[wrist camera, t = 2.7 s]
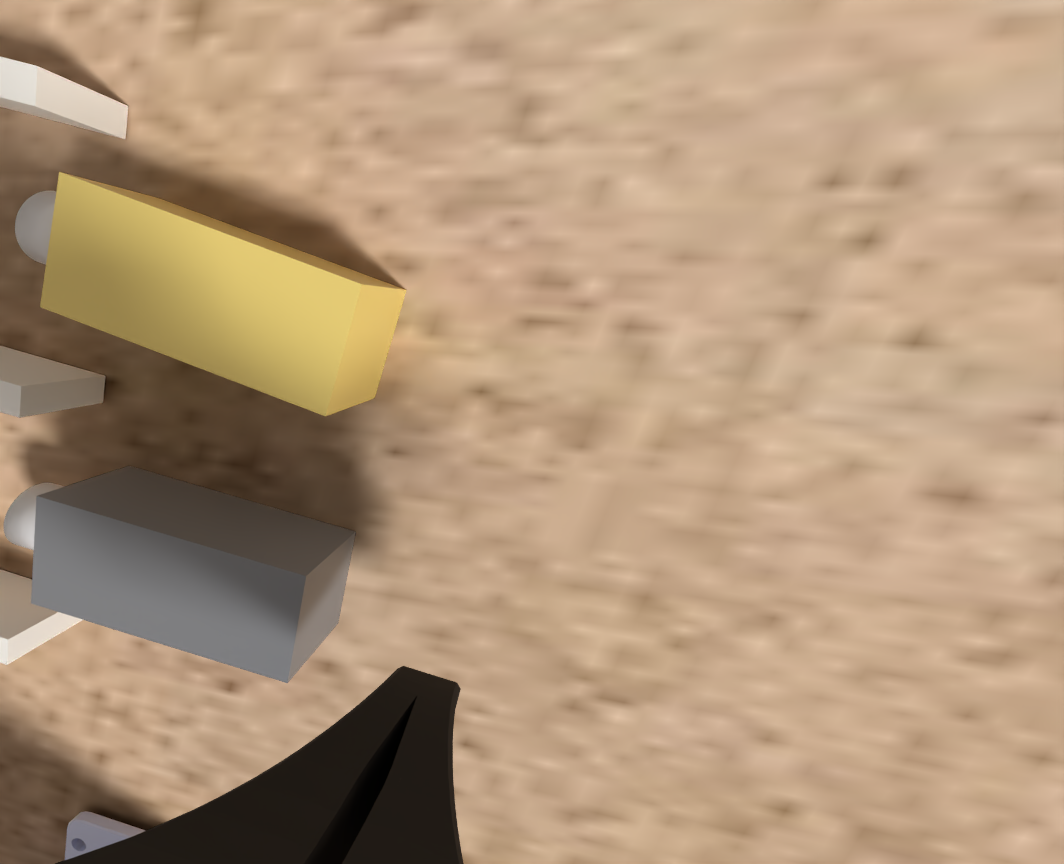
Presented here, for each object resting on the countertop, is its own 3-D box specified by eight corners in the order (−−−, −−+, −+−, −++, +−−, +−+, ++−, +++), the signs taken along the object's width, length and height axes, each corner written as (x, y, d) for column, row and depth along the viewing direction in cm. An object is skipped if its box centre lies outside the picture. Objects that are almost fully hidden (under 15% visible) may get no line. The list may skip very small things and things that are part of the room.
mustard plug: (377, 397, 15) (325, 416, 13) (95, 289, 16) (-20, 284, 13) (409, 290, 15) (361, 284, 12) (112, 180, 15) (-4, 148, 12)
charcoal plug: (340, 620, 17) (287, 683, 14) (81, 541, 18) (-23, 587, 15) (358, 529, 16) (306, 576, 13) (88, 450, 17) (-20, 479, 14)
